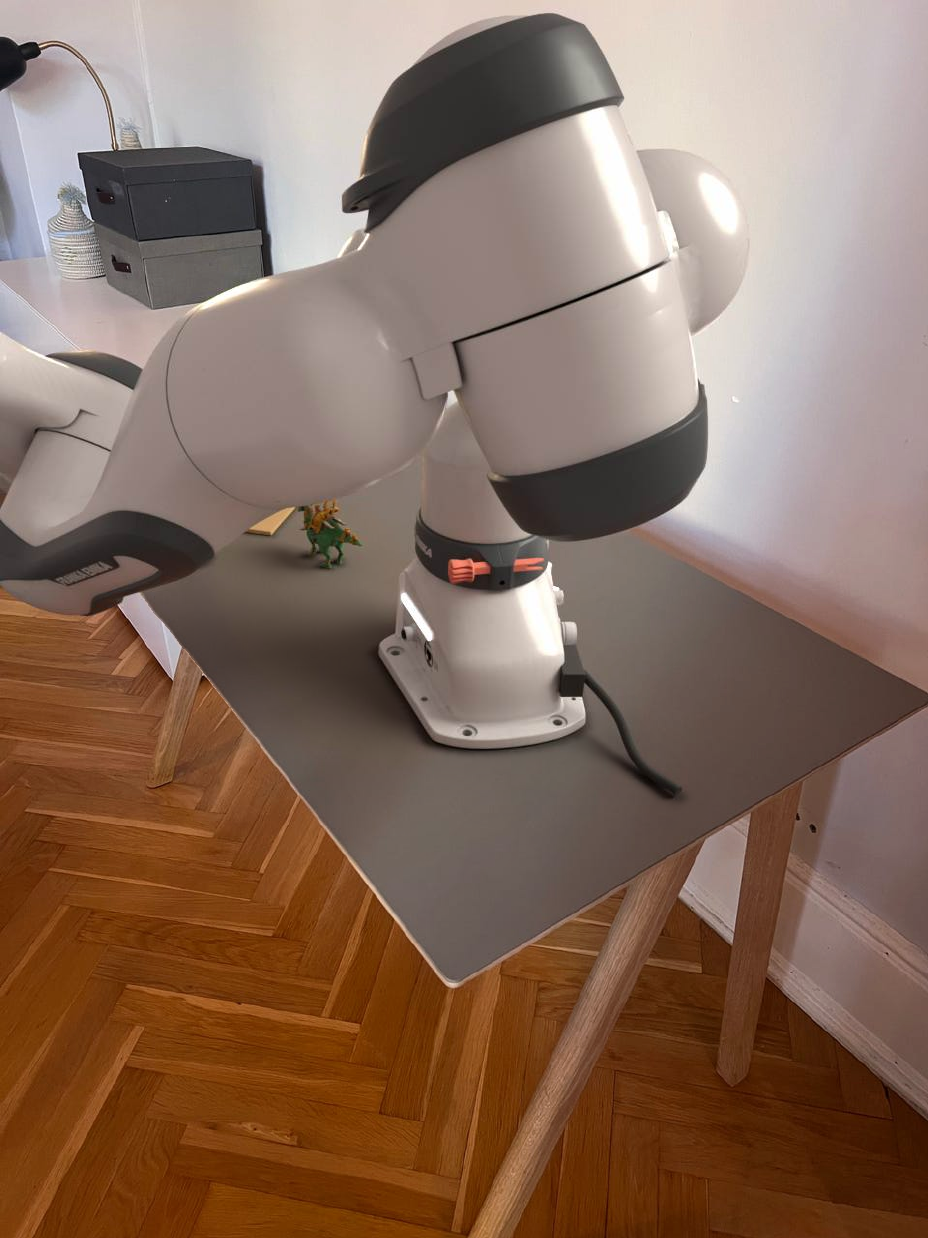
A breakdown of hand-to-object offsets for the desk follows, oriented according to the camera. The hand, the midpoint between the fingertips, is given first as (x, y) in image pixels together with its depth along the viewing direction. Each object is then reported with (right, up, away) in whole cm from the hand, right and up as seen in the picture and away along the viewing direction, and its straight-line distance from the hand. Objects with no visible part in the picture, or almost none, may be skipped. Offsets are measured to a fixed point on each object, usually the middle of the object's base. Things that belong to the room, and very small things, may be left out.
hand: (142, 513), depth 89 cm
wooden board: (+6, +8, +31) cm, 33 cm away
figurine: (+17, -4, +13) cm, 22 cm away
